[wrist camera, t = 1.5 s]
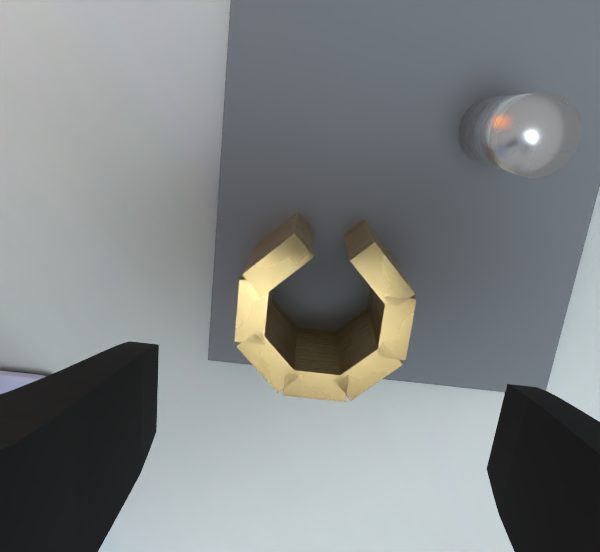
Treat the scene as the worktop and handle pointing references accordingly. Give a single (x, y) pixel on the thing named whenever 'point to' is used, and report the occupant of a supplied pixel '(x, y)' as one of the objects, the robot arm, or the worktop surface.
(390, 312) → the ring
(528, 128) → the piston post
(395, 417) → the worktop surface
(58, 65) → the worktop surface
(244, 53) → the mat
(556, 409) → the robot arm
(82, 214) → the worktop surface
